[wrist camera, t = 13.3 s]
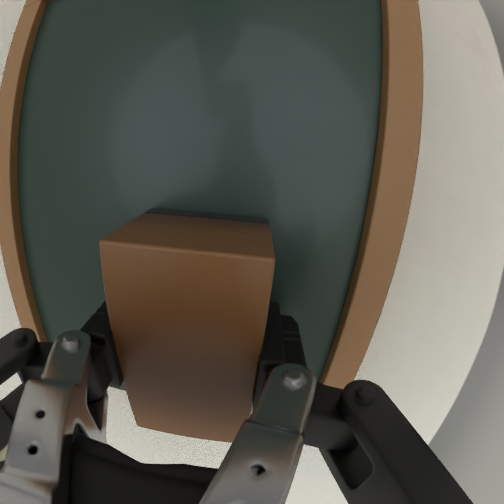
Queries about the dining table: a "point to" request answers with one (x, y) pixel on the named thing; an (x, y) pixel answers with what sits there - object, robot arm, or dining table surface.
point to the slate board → (214, 148)
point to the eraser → (189, 317)
